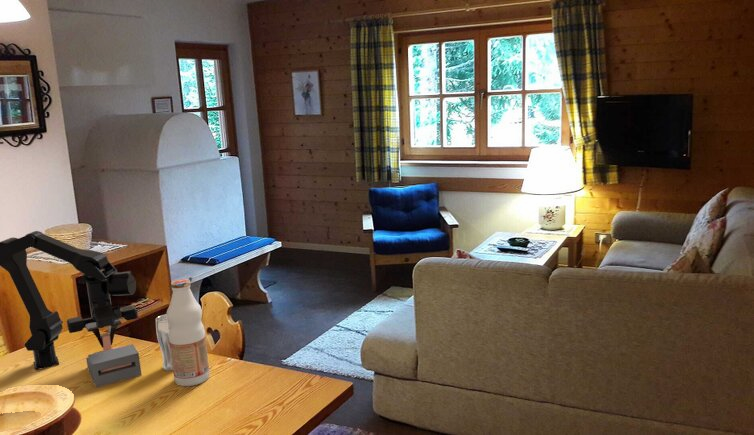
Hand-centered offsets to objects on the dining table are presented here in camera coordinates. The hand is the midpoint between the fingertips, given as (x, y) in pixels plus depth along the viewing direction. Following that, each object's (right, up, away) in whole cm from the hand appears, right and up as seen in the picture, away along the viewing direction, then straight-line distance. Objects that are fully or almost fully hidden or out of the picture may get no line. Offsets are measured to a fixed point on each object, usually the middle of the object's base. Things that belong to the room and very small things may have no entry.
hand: (106, 346), depth 184 cm
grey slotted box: (+5, -6, -6) cm, 10 cm away
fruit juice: (+30, -6, -14) cm, 33 cm away
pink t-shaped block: (+4, -3, -5) cm, 7 cm away
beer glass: (+22, -5, -5) cm, 23 cm away
